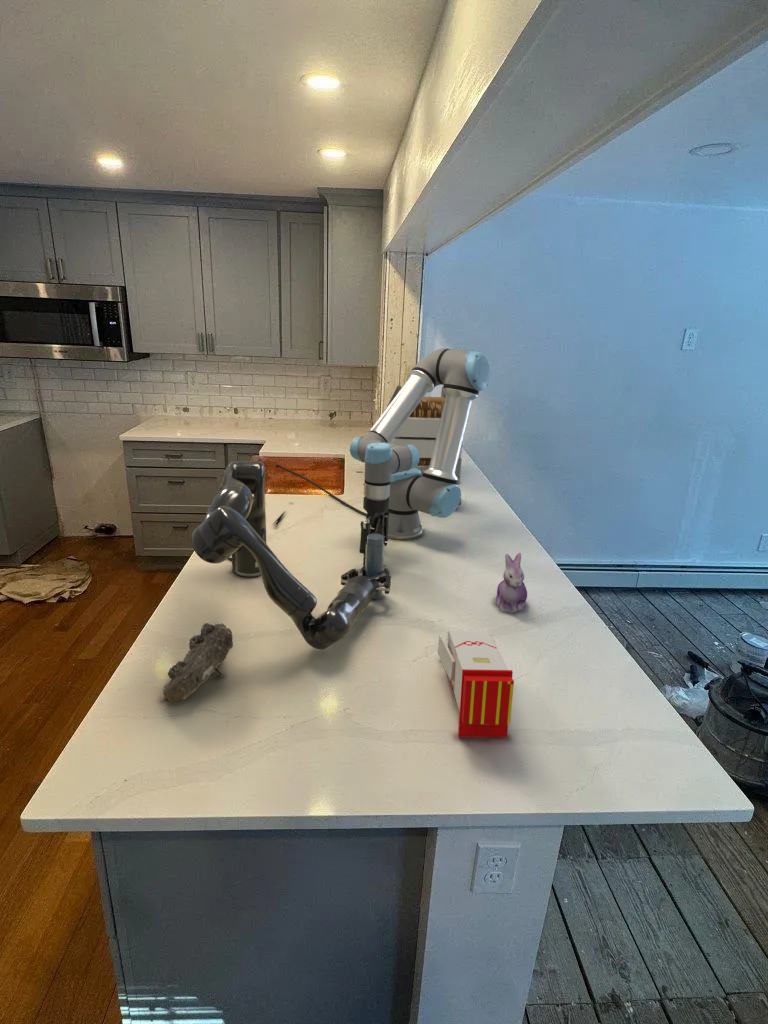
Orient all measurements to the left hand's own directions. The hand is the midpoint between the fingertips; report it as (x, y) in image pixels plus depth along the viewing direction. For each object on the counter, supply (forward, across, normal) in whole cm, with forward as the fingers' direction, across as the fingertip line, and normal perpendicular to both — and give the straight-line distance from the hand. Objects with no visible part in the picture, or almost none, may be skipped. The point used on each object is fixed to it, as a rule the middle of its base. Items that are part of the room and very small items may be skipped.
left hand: (377, 569), depth 157 cm
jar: (-3, 0, +7) cm, 7 cm away
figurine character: (+82, -3, +7) cm, 82 cm away
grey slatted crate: (+123, +21, +7) cm, 125 cm away
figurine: (+7, -37, +7) cm, 38 cm away
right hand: (+13, +6, +7) cm, 16 cm away
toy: (-34, -33, +7) cm, 48 cm away
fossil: (-50, +21, +7) cm, 54 cm away
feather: (+43, +52, +7) cm, 68 cm away
